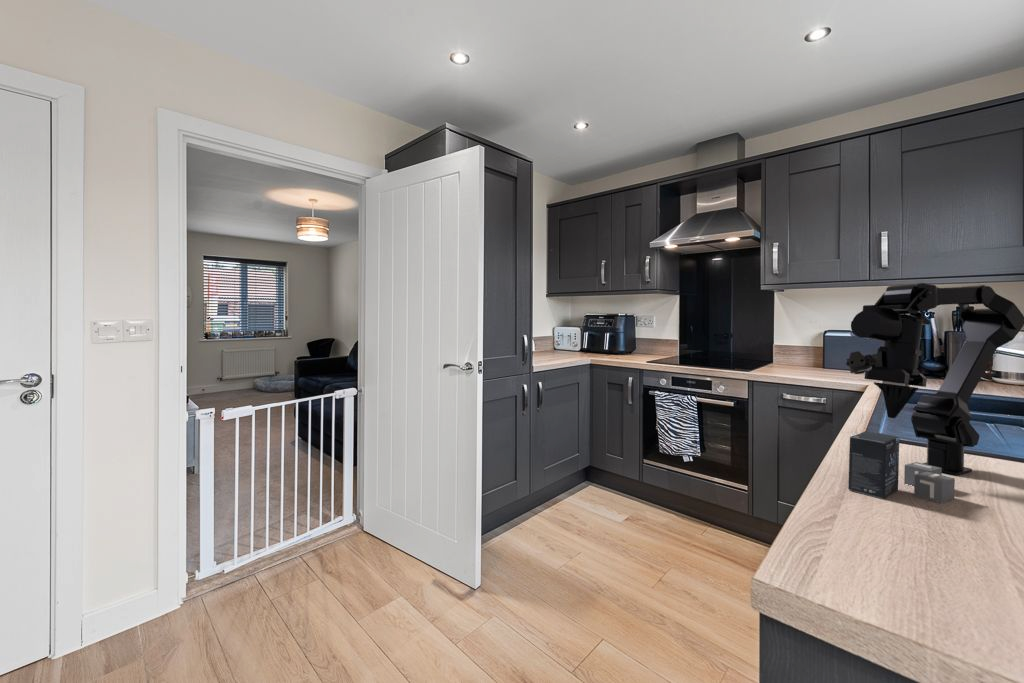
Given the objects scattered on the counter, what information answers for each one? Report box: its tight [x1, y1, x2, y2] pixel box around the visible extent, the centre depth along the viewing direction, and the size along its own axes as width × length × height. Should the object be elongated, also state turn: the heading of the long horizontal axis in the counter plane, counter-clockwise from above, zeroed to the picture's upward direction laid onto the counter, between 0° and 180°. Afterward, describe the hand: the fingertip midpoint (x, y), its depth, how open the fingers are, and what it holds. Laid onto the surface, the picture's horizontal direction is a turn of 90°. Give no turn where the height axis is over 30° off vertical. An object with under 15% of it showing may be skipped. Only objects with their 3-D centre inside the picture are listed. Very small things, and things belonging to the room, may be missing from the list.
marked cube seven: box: [913, 472, 956, 504], centre depth 80 cm, size 4×4×4 cm
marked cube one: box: [903, 461, 943, 487], centre depth 86 cm, size 4×4×4 cm
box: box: [847, 430, 900, 500], centre depth 84 cm, size 8×6×11 cm
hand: (891, 417), depth 92 cm, fingers closed
